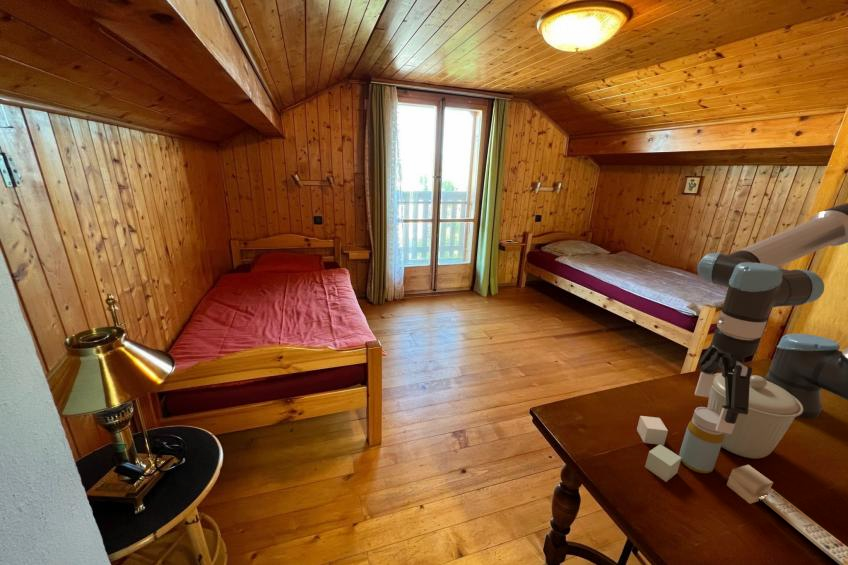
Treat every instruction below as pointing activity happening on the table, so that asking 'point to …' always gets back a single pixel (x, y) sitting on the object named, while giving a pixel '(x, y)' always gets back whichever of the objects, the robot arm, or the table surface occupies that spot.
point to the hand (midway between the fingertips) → (711, 412)
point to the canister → (757, 417)
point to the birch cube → (749, 483)
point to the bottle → (702, 441)
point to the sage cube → (663, 462)
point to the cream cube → (652, 430)
